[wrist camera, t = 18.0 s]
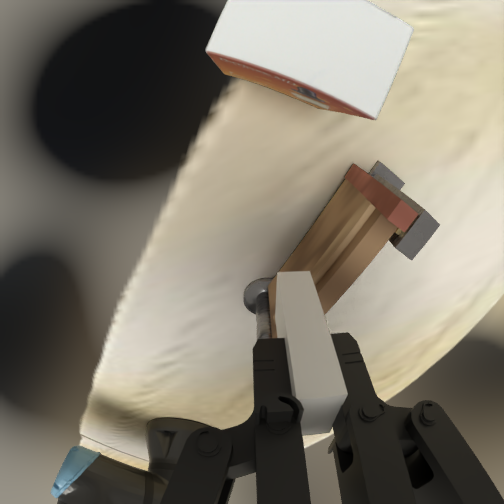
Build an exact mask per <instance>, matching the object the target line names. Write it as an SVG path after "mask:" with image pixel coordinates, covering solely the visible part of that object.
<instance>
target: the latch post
mask: <svg viewBox="0 0 504 504" xmlns="http://www.w3.org/2000/svg"><path fill="white" fill-rule="evenodd" d="M369 175H370V176H372V177H373V178H374V179H376V180H377V181H378V182H380V183H381V184H382V185H384V186H385V187H386V188H388V189H389V190H390V191H391V192H393V193H394V194H395V195H396V196H398V197H399V198H400V199H401V200H403V201H404V202H405V203H406V204H407V205H408V206H410V207H411V208H412V209H413V210H414V211H415V212H417V213H418V215H417V217H416V218H415V219H414V221H413V222H412V223H411V225H410V226H409V227H408V229H407V230H406V231H405V232H403V231H402V230H401V229H399V228H397V230H396V231H395V232H394V234H393V235H392V236H391V237H390V239H389V241H390V242H391V243H392V245H393V246H394V247H395V248H396V249H397V250H399V251H400V252H401V253H403V254H404V255H405V256H406V257H408V258H409V259H410V260H413V258H414V257H415V256H416V255H417V254H418V252H419V251H420V250H421V249H422V248H423V246H424V245H425V244H426V243H427V241H428V240H429V239H430V237H431V236H432V235H433V234H434V232H435V231H436V230H437V228H438V227H439V226H440V224H439V223H438V222H437V221H436V220H435V219H434V218H433V217H432V216H431V215H430V214H429V213H428V212H427V211H426V210H425V209H423V208H422V207H421V206H420V205H418V204H417V203H416V202H415V201H413V200H412V199H411V198H409V197H408V196H407V195H405V194H404V193H403V192H401V191H400V189H401V188H402V187H403V185H404V184H405V183H404V182H403V181H402V180H400V179H399V178H398V177H397V176H396V175H395V174H394V173H393V172H391V171H390V170H389V169H388V168H387V167H386V166H384V165H383V164H382V163H381V162H379V161H377V163H376V164H375V165H374V167H373V168H372V170H371V171H370V172H369Z"/></svg>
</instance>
